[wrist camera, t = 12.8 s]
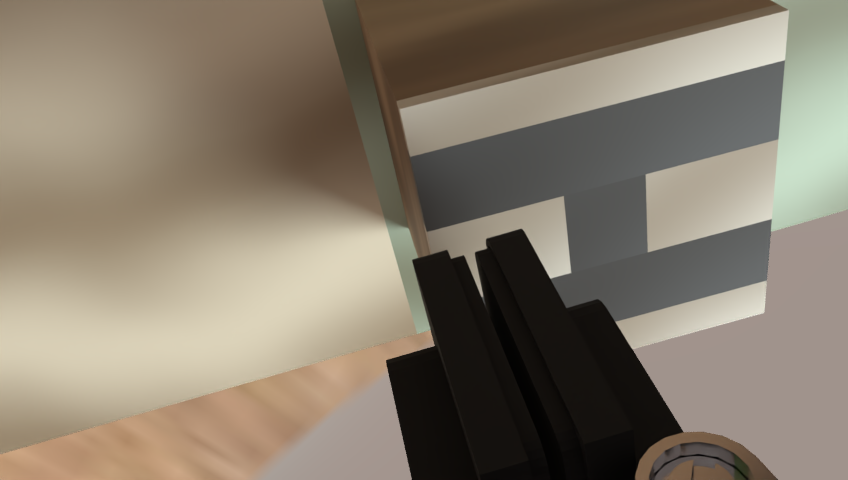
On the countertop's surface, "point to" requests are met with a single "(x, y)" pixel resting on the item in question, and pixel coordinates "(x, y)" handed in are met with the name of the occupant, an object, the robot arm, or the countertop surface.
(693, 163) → the walnut block
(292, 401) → the countertop surface
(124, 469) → the countertop surface
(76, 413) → the board
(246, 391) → the countertop surface
